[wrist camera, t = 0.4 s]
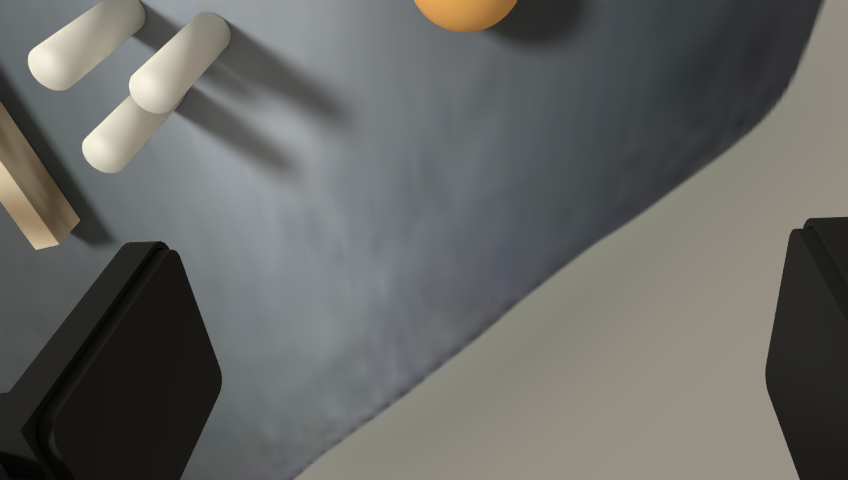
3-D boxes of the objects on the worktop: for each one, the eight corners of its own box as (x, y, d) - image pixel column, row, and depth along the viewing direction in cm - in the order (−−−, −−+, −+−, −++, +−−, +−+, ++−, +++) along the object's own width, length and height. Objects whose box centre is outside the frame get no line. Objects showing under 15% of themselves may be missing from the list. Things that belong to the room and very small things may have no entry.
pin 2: (140, 75, 47) (73, 139, 40) (173, 65, 46) (111, 129, 39) (159, 109, 48) (97, 177, 41) (191, 100, 48) (134, 167, 41)
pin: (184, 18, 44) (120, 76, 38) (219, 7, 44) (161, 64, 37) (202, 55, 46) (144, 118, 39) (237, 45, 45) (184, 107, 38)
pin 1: (98, -2, 44) (18, 52, 37) (132, -14, 44) (57, 39, 37) (119, 36, 46) (45, 95, 39) (152, 25, 45) (84, 84, 38)
